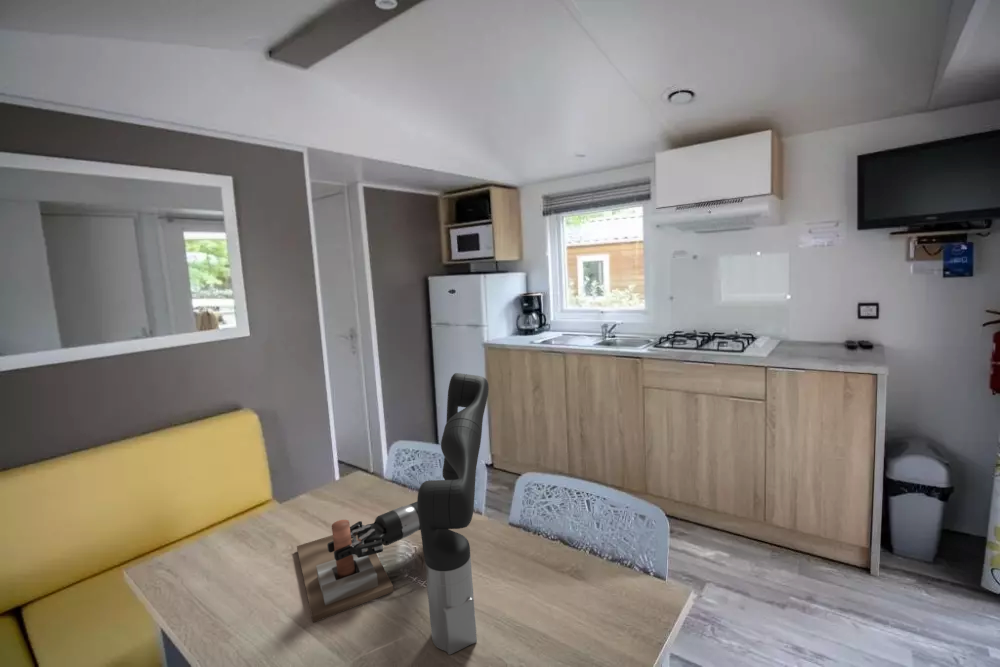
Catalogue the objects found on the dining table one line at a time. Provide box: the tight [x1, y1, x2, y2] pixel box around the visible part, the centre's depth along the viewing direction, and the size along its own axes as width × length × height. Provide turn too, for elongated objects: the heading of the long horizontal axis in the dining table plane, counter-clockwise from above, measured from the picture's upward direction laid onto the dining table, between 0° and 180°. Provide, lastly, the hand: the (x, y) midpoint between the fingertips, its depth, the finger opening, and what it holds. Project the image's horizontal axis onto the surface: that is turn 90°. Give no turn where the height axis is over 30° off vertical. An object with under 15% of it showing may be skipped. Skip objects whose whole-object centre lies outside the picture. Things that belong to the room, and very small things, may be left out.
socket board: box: [296, 534, 394, 623], centre depth 121 cm, size 32×18×4 cm, turn 29°
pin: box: [331, 519, 355, 580], centre depth 113 cm, size 4×4×14 cm
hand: (331, 552), depth 111 cm, fingers closed on pin, 4 cm apart
